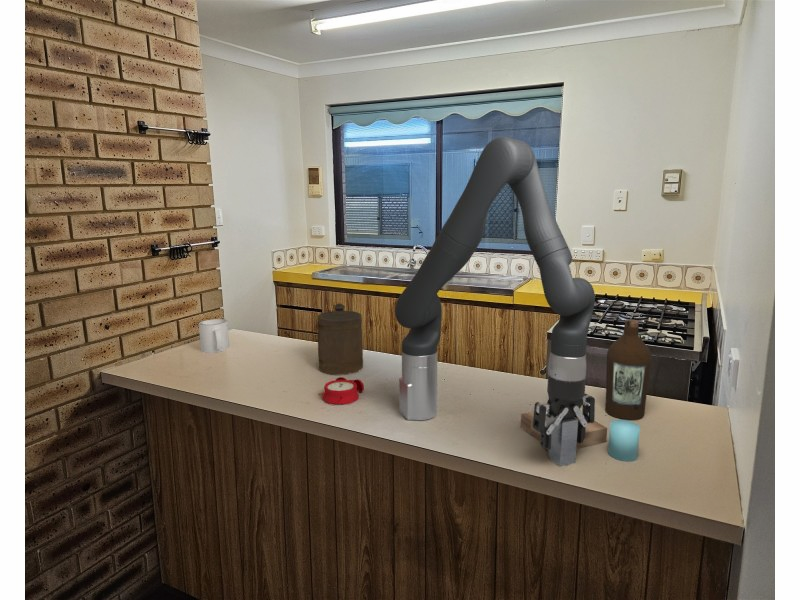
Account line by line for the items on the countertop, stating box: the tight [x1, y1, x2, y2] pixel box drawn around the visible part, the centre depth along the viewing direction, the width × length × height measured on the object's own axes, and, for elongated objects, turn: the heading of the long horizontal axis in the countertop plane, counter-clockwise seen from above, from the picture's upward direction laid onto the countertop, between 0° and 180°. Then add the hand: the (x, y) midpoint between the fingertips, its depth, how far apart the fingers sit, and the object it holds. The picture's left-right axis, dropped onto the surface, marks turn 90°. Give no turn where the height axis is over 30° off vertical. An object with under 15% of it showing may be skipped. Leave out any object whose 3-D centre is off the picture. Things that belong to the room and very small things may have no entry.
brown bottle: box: [604, 318, 653, 421], centre depth 132 cm, size 11×11×25 cm
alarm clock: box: [318, 376, 365, 405], centre depth 147 cm, size 10×6×15 cm
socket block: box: [520, 410, 608, 450], centre depth 122 cm, size 14×14×4 cm
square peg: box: [547, 416, 578, 467], centre depth 110 cm, size 4×4×10 cm
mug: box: [198, 318, 230, 354], centre depth 192 cm, size 14×10×11 cm
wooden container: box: [317, 303, 364, 375], centre depth 170 cm, size 15×15×22 cm
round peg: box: [607, 419, 641, 463], centre depth 112 cm, size 6×6×7 cm
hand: (562, 444), depth 110 cm, fingers open, 8 cm apart
